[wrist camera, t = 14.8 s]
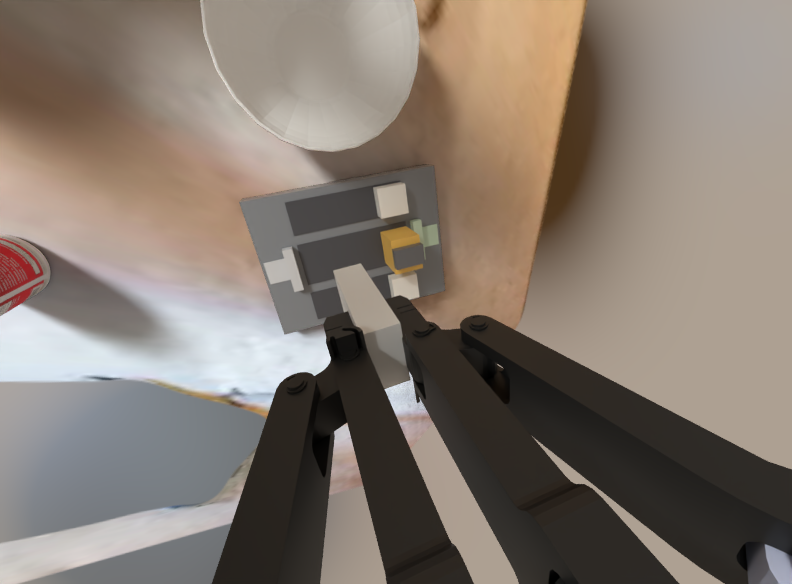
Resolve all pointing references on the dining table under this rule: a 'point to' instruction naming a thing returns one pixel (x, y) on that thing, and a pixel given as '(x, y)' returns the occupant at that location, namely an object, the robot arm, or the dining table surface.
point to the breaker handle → (402, 250)
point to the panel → (343, 240)
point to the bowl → (316, 65)
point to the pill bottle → (20, 272)
